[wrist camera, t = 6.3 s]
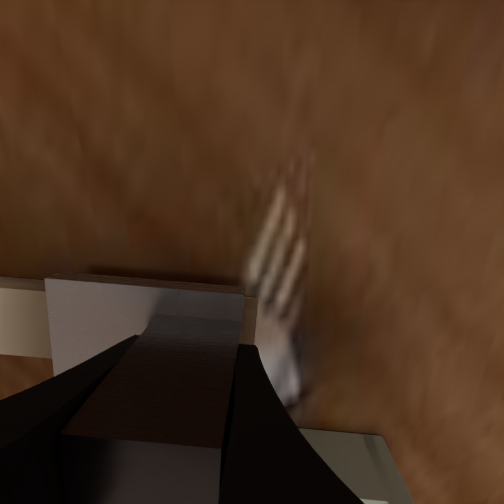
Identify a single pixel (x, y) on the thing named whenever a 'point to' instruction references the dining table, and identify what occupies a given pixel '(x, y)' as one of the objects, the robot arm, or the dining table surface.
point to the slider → (147, 386)
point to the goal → (361, 465)
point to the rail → (37, 324)
